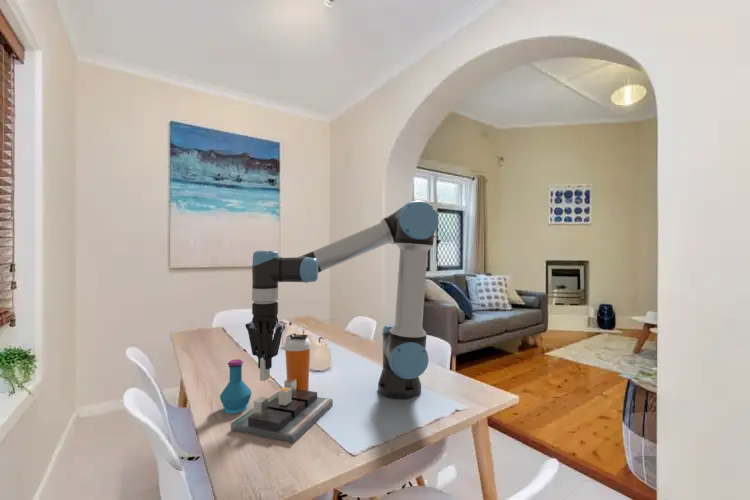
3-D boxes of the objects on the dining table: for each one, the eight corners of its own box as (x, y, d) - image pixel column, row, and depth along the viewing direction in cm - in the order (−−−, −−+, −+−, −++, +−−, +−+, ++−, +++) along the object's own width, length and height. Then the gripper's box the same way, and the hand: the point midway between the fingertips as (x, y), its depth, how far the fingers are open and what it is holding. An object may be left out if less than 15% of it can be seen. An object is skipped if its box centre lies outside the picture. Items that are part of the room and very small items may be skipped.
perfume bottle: (221, 418, 107) (220, 367, 106) (219, 405, 115) (218, 359, 115) (253, 411, 111) (253, 363, 111) (249, 399, 119) (248, 354, 119)
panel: (332, 405, 115) (332, 380, 114) (293, 443, 93) (293, 412, 93) (279, 397, 121) (278, 373, 121) (230, 430, 99) (230, 401, 99)
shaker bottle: (305, 398, 120) (304, 339, 119) (280, 396, 121) (279, 337, 121) (314, 388, 128) (314, 332, 128) (291, 386, 130) (291, 331, 130)
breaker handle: (291, 401, 108) (291, 387, 108) (286, 405, 105) (285, 391, 105) (284, 400, 109) (284, 386, 109) (278, 404, 106) (278, 390, 106)
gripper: (290, 301, 110) (290, 377, 110) (255, 298, 114) (254, 372, 115) (276, 305, 103) (275, 386, 103) (239, 302, 107) (238, 380, 108)
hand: (264, 379), depth 109 cm, fingers closed
